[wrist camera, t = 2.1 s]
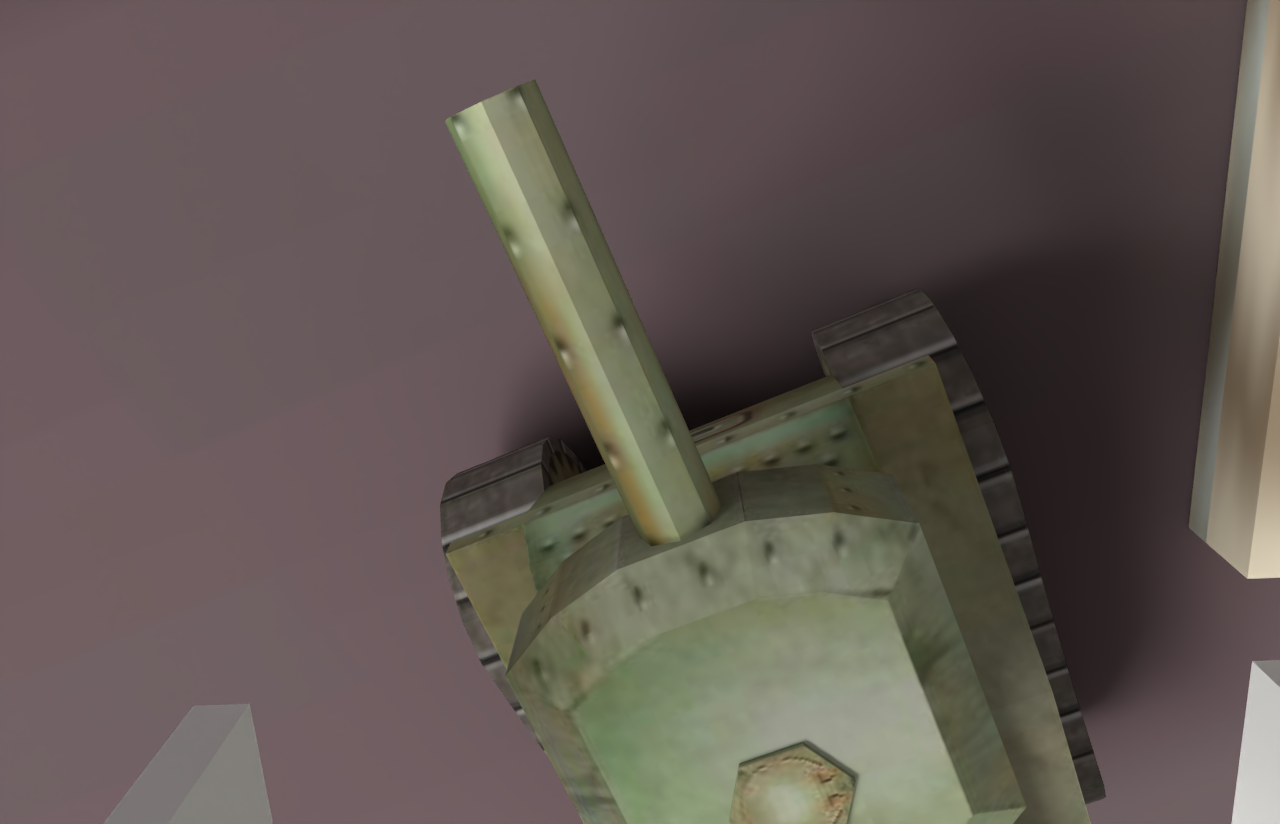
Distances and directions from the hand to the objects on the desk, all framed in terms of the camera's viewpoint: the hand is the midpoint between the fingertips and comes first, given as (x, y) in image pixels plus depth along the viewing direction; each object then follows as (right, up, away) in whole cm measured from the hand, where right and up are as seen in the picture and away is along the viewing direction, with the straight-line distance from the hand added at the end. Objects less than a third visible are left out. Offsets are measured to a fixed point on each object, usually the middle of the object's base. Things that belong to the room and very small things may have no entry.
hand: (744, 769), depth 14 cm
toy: (+1, +3, +10) cm, 11 cm away
